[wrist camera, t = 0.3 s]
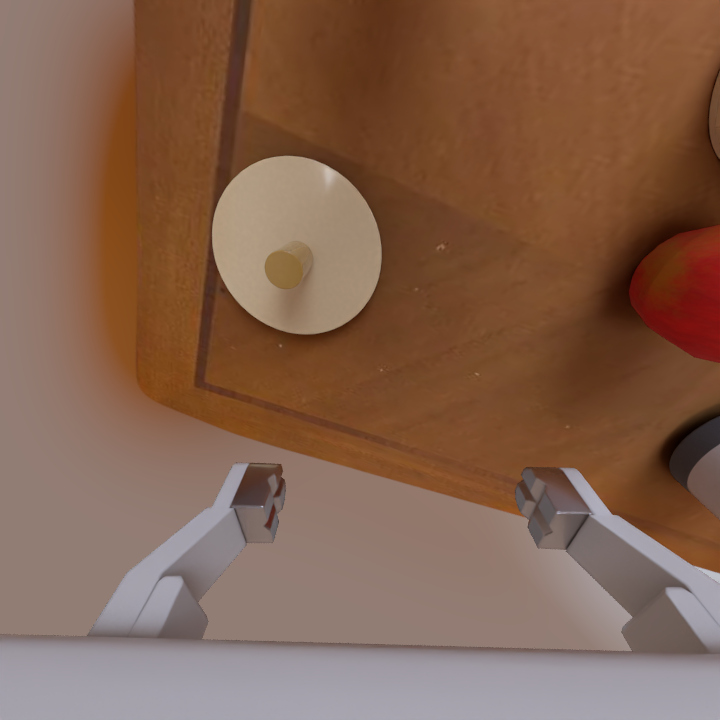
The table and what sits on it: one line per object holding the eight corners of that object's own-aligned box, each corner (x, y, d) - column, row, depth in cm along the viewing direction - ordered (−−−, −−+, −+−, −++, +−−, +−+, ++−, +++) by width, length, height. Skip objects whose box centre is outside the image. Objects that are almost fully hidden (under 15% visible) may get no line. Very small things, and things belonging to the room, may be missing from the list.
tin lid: (198, 157, 21) (147, 145, 16) (384, 157, 21) (390, 146, 16) (237, 328, 28) (209, 357, 23) (378, 330, 28) (380, 360, 23)
